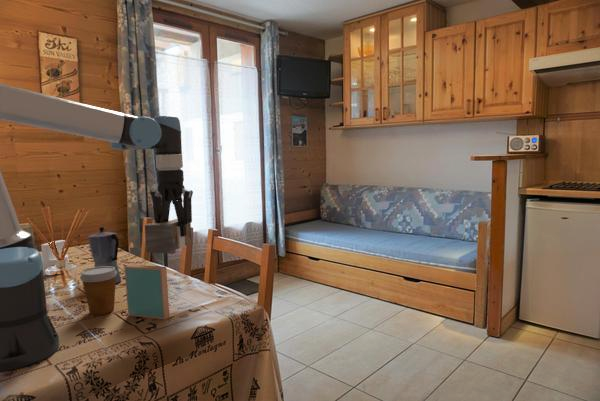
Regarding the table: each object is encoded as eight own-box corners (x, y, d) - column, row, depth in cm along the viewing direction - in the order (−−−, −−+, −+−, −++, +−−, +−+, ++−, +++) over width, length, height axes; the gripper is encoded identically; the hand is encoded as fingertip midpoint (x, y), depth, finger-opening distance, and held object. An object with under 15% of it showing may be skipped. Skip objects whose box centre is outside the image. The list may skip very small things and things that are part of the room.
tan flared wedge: (173, 253, 113) (171, 225, 112) (146, 252, 116) (144, 225, 115) (198, 243, 126) (197, 218, 125) (174, 242, 129) (172, 218, 128)
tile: (164, 319, 108) (161, 268, 106) (127, 315, 111) (123, 266, 110) (169, 316, 110) (166, 266, 108) (133, 312, 113) (129, 264, 112)
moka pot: (106, 276, 150) (102, 223, 147) (135, 281, 142) (130, 226, 140) (82, 284, 141) (77, 228, 139) (111, 290, 134) (106, 231, 132)
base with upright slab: (57, 268, 164) (54, 239, 162) (75, 269, 161) (72, 240, 160) (37, 275, 155) (34, 244, 154) (56, 276, 153) (53, 245, 151)
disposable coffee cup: (127, 305, 119) (123, 266, 118) (105, 318, 110) (101, 275, 109) (99, 304, 121) (95, 265, 120) (75, 316, 112) (71, 274, 110)
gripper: (201, 168, 120) (206, 245, 122) (154, 169, 125) (159, 243, 128) (187, 169, 113) (192, 250, 115) (137, 170, 118) (143, 248, 121)
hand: (174, 246), depth 121 cm, fingers closed on tan flared wedge, 4 cm apart
